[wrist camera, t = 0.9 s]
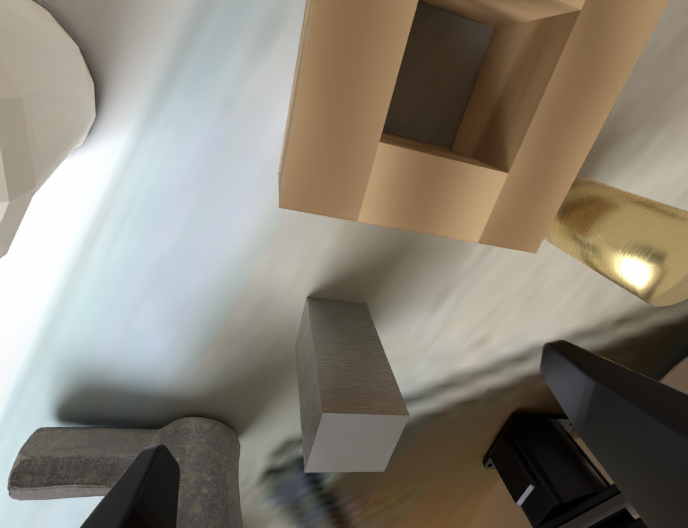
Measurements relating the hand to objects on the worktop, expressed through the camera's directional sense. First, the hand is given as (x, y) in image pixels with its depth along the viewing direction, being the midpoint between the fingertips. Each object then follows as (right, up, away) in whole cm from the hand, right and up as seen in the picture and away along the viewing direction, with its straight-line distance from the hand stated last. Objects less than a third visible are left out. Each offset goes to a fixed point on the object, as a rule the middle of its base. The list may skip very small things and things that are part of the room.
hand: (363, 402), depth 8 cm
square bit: (-1, -1, +13) cm, 13 cm away
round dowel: (+11, +7, +12) cm, 17 cm away
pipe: (-13, -8, +15) cm, 21 cm away
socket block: (+3, +12, +8) cm, 14 cm away
